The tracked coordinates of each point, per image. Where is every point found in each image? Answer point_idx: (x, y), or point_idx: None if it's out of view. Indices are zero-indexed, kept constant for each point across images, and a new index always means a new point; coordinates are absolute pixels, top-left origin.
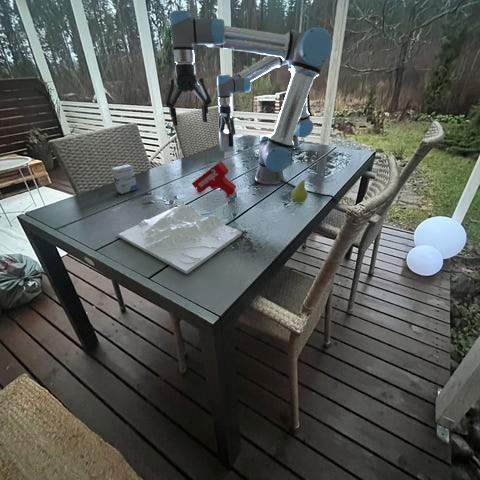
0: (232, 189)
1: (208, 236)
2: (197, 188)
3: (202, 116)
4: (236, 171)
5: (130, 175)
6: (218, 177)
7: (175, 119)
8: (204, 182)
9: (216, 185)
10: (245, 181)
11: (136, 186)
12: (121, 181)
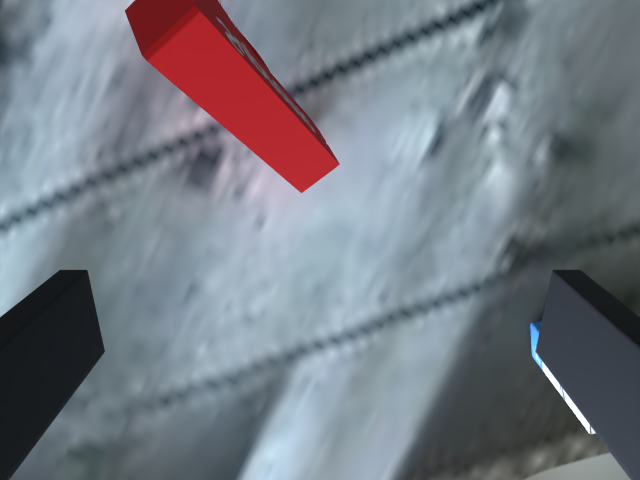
0: None
1: None
2: (320, 135)
3: (68, 395)
4: (16, 283)
5: None
6: (218, 16)
7: (629, 314)
8: (289, 101)
9: (240, 35)
10: (24, 128)
11: (539, 328)
12: None
